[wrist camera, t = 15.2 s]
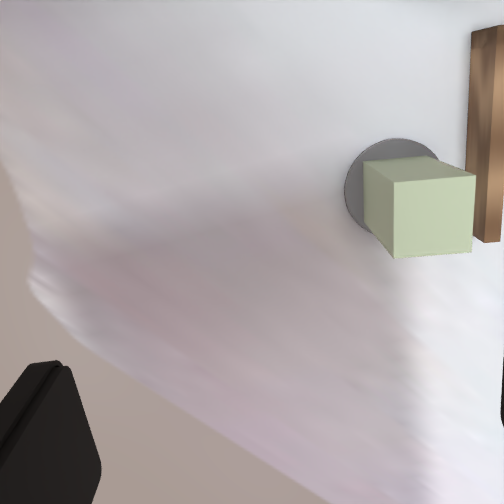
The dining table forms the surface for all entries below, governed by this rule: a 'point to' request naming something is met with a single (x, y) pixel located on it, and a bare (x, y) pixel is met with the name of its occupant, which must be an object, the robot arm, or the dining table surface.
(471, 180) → the sage block
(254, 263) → the dining table surface
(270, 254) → the dining table surface
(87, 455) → the robot arm
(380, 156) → the slate coaster
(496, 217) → the wooden u-shaped frame
